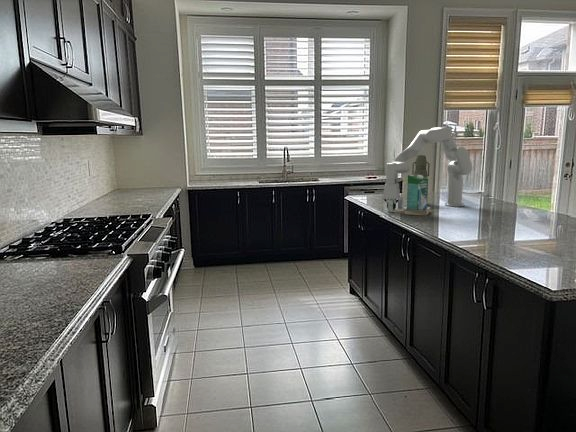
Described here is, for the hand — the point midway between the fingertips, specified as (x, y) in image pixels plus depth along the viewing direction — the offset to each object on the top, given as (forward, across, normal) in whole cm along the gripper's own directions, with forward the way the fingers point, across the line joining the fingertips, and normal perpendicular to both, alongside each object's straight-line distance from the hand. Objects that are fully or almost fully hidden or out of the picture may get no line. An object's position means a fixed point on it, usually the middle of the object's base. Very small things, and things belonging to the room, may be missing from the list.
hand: (391, 208), depth 292 cm
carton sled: (+2, -11, 0) cm, 11 cm away
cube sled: (+2, -10, -12) cm, 15 cm away
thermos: (+2, -12, -39) cm, 41 cm away
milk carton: (+2, -17, 0) cm, 17 cm away
